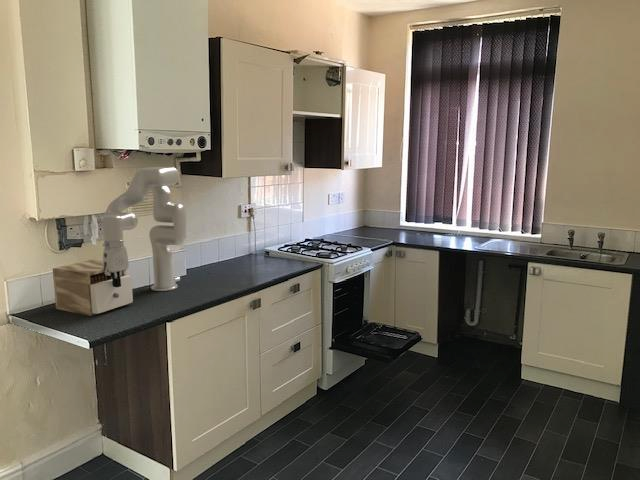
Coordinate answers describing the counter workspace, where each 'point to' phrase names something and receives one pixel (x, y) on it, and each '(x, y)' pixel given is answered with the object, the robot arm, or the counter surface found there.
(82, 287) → the cabinet
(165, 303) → the counter surface
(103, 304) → the drawer
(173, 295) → the counter surface
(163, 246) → the robot arm
